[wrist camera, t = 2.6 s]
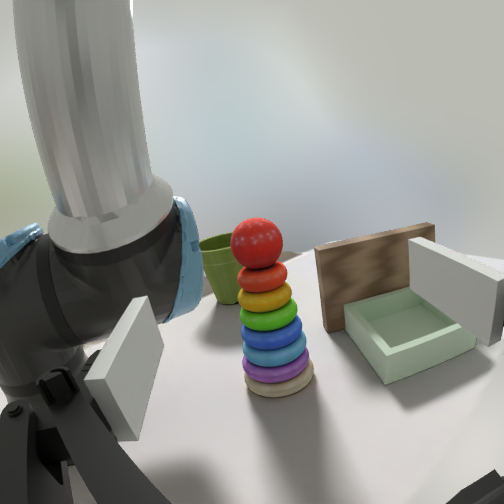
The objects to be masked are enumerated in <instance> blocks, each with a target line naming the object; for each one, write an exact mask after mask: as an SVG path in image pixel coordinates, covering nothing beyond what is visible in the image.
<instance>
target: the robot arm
mask: <svg viewBox="0 0 504 504" xmlns="http://www.w3.org/2000/svg"><path fill="white" fill-rule="evenodd" d="M13 14H14V25H15V36H16V44H17V52H18V59H19V65H20V72H21V78H22V83H23V89H24V93H25V99H26V103H27V108H28V112H29V117H30V121H31V125H32V129H33V133H34V137H35V141H36V144H37V148H38V151H39V154H40V158H41V161H42V165H43V168H44V171H45V174H46V177H47V181H48V184H49V187H50V190H51V192H52V196H53V198H54V201H55V204H56V206H55V208H54V210H53V212H52V214H51V216H50V219H49V222H48V234H45V235H43V229H42V228H41V227H40V226H39V224H38V223H33V224H30V225H28V226H26V227H24V228H22V229H20V230H18V231H16V232H14V233H12V234H11V235H9V236H6V237H5V238H3V239H1V240H0V387H1V389H2V390H3V392H4V394H5V395H6V398H7V401H8V405H6V407H5V408H4V409H3V410H2V413H1V415H0V504H74V503H73V498H72V492H71V487H70V481H69V475H68V468H67V465H71V464H75V466H76V468H77V470H78V471H79V473H80V475H81V477H82V479H83V480H84V482H85V484H86V486H87V487H88V489H89V491H90V492H91V494H92V496H93V497H94V499H95V501H96V502H97V504H171V503H170V502H169V501H168V500H167V499H166V498H165V497H164V495H163V494H162V493H161V492H160V491H159V490H158V489H157V488H156V487H155V486H154V485H153V484H152V483H151V482H150V481H149V479H148V478H147V477H146V476H145V475H144V474H143V473H142V472H141V470H140V469H139V468H138V467H137V466H136V465H135V463H134V462H133V461H132V460H131V459H130V457H129V456H128V455H127V454H126V453H125V451H124V450H123V449H122V448H121V446H120V445H119V444H118V443H117V441H116V440H115V438H117V439H118V441H138V440H139V436H140V432H141V428H142V424H143V420H144V417H145V413H146V409H147V405H148V401H149V398H150V394H151V390H152V387H153V383H154V379H155V376H156V372H157V369H158V365H159V362H160V358H161V355H162V351H163V348H164V343H163V340H162V338H161V335H160V332H159V329H158V326H157V324H161V323H167V322H169V321H170V320H171V319H173V318H176V317H178V316H181V315H184V314H186V313H189V312H191V311H193V310H194V309H195V308H196V307H197V306H198V304H199V302H200V300H201V298H202V294H203V286H204V272H203V259H202V252H201V250H200V248H199V235H198V229H197V225H196V222H195V218H194V215H193V212H192V210H191V208H190V206H189V204H188V202H187V201H186V200H184V199H183V198H182V197H175V196H173V192H172V189H171V187H170V185H169V184H168V183H167V182H166V181H164V180H163V179H161V178H159V177H158V176H156V175H154V174H152V173H151V167H150V161H149V156H148V149H147V143H146V136H145V130H144V123H143V115H142V107H141V100H140V91H139V83H138V74H137V64H136V54H135V42H134V30H133V15H132V0H13ZM408 245H409V270H410V289H411V290H412V291H414V292H415V293H416V294H418V295H419V296H421V297H422V298H423V299H425V300H426V301H428V302H429V303H430V304H432V305H433V306H435V307H436V308H437V309H439V310H440V311H441V312H443V313H444V314H445V315H447V316H448V317H450V318H451V319H452V320H454V321H455V322H456V323H458V324H459V325H460V326H462V327H463V328H464V329H466V330H467V331H468V332H470V333H471V334H472V335H474V336H475V337H476V338H478V339H479V340H480V341H481V342H483V343H484V344H485V345H487V346H488V347H489V346H491V345H493V344H495V343H496V342H498V341H500V340H501V336H502V331H503V326H504V273H503V272H501V271H499V270H496V269H494V268H492V267H490V266H488V265H485V264H483V263H481V262H479V261H476V260H474V259H472V258H470V257H467V256H465V255H463V254H460V253H458V252H456V251H453V250H451V249H448V248H446V247H444V246H441V245H439V244H437V243H434V242H432V241H429V240H427V239H424V238H422V237H417V238H412V239H408ZM105 338H108V340H107V341H106V343H105V345H104V346H103V348H102V350H97V351H96V352H94V353H93V354H92V355H91V356H90V357H89V358H88V357H87V356H86V354H85V352H84V350H83V348H82V346H81V345H82V344H86V343H90V342H94V341H98V340H102V339H105ZM446 504H504V476H502V477H500V475H499V474H498V473H497V472H496V470H495V469H494V470H493V471H491V472H490V473H488V474H487V475H485V476H484V477H482V478H480V479H479V480H477V481H476V482H474V483H473V484H471V485H469V486H467V487H466V488H464V489H462V490H461V491H460V492H459V493H458V494H456V495H455V496H454V497H453V498H452V499H451V500H450V501H449V502H447V503H446Z"/></svg>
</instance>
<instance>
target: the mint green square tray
mask: <svg viewBox="0 0 504 504" xmlns="http://www.w3.org/2000/svg"><path fill="white" fill-rule="evenodd" d="M344 316H345V330H346V331H347V333H348V334H349V336H350V337H351V338H352V340H353V341H354V342H355V344H356V345H357V347H358V348H359V349H360V351H361V352H362V354H363V355H364V356H365V358H366V359H367V361H368V362H369V363H370V365H371V366H372V368H373V369H374V370H375V372H376V373H377V375H378V376H379V377H380V379H381V380H382V382H383V383H384V384H385V385H387V384H389V383H392V382H395V381H398V380H400V379H403V378H406V377H408V376H411V375H413V374H416V373H418V372H421V371H423V370H426V369H428V368H431V367H433V366H435V365H438V364H440V363H442V362H445V361H447V360H449V359H451V358H453V357H456V356H458V355H460V354H462V353H464V352H466V351H468V350H470V349H473V348H475V344H476V337H475V336H474V335H472V334H471V333H470V332H468V331H467V330H466V329H464V328H463V327H462V326H460V325H459V324H458V323H456V322H455V321H454V320H452V319H451V318H450V317H448V316H447V315H445V314H444V313H443V312H441V311H440V310H439V309H437V308H436V307H435V306H433V305H432V304H430V303H429V302H428V301H426V300H425V299H423V298H422V297H421V296H419V295H418V294H416V293H415V292H414V291H412V290H411V289H410V286H409V287H406V288H402V289H399V290H395V291H392V292H388V293H385V294H381V295H378V296H374V297H371V298H367V299H363V300H359V301H356V302H352V303H348V304H344Z"/></svg>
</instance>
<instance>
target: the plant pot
mask: <svg viewBox="0 0 504 504" xmlns="http://www.w3.org/2000/svg"><path fill="white" fill-rule="evenodd" d="M232 234H233V232H230V233H225V234H220V235H216V236H213V237H210V238H207V239H204V240H202V241H200V242H199V248H200V250H201V252H202V259H203V269H204V271H205V273H206V276H207V278H208V280H209V283H210V285H211V287H212V289H213V292H214V294H215V296H216V298H217V300H218V302H220V303H222V304H235V303H236V302H238V294H239V292H240V290H241V289H242V288H241V287H240V285H239V284H238V280H237V276H238V273H239V272H240V270H241V269H242V268H244V266H242V265H241V264H240V263H239V262H238V261H237V260H236V259H235V257H234V256H233V253H232V251H231V244H230V243H231V236H232Z"/></svg>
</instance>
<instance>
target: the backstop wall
mask: <svg viewBox="0 0 504 504" xmlns="http://www.w3.org/2000/svg"><path fill="white" fill-rule="evenodd" d="M417 237H422V238H424V239H427V240H429V241H432V242H434V243H435V225H433V224H430V223H427V222H426V223H422V224H417V225H412V226H408V227H403V228H399V229H395V230H389V231H385V232H380V233H376V234H371V235H366V236H362V237H357V238H353V239H348V240H343V241H338V242H333V243H329V244H324V245H319V246H315V247H314V251H315V258H316V266H317V274H318V282H319V290H320V299H321V307H322V317H323V326H324V328H325V330H326V331H327V333H330V332H334V331H338V330H341V329H345V316H344V304H348V303H352V302H356V301H359V300H363V299H367V298H371V297H374V296H378V295H381V294H385V293H388V292H392V291H395V290H399V289H402V288H406V287H409V286H410V270H409V245H408V239H412V238H417Z"/></svg>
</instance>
